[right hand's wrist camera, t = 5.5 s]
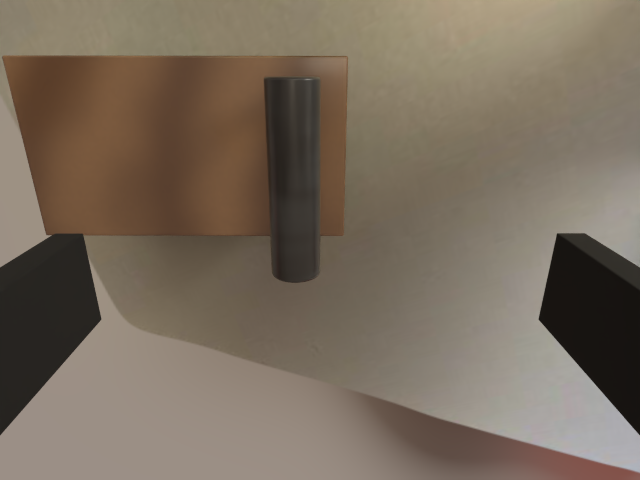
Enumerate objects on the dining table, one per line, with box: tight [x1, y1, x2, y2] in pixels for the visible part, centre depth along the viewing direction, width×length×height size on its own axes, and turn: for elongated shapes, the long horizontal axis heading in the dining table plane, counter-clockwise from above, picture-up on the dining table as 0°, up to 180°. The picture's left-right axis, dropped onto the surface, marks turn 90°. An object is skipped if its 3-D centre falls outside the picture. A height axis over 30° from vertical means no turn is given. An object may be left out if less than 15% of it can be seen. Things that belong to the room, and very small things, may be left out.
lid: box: [2, 56, 348, 283], centre depth 20 cm, size 17×9×9 cm, turn 90°
